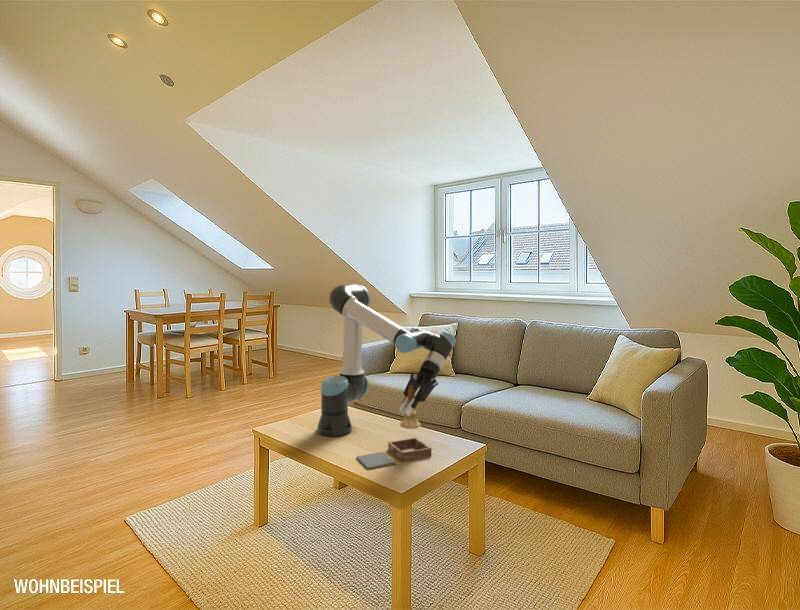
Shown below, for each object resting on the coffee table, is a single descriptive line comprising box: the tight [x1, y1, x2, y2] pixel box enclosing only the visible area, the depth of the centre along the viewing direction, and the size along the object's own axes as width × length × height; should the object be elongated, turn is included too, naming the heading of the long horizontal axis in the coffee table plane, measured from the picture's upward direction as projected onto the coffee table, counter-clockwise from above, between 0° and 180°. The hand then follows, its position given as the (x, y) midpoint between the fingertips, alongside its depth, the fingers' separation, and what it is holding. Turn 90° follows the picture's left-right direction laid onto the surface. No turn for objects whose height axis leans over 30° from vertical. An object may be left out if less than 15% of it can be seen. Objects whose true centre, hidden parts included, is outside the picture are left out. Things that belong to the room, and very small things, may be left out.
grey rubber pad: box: [356, 451, 396, 470], centre depth 177 cm, size 11×11×1 cm
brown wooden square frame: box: [387, 437, 432, 462], centre depth 186 cm, size 13×13×3 cm
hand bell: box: [399, 385, 422, 430], centre depth 184 cm, size 8×8×16 cm
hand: (403, 413), depth 182 cm, fingers closed on hand bell, 2 cm apart
